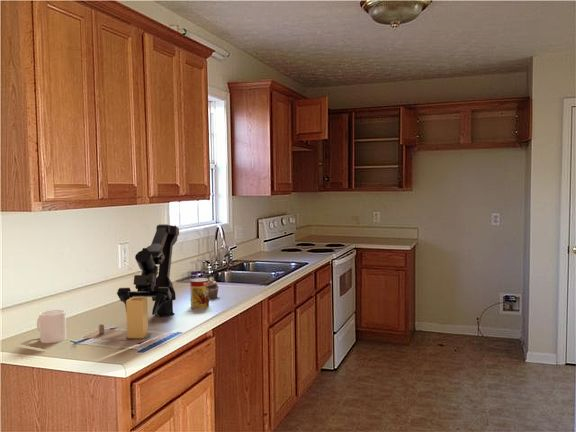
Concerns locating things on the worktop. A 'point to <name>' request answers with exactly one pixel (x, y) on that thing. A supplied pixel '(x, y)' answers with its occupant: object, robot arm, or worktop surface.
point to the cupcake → (212, 287)
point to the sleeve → (137, 317)
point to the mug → (52, 326)
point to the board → (115, 335)
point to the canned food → (199, 293)
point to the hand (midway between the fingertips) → (140, 314)
